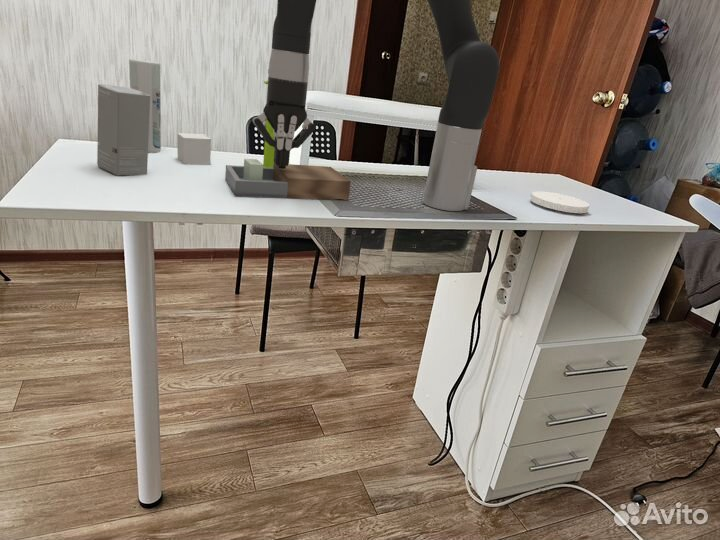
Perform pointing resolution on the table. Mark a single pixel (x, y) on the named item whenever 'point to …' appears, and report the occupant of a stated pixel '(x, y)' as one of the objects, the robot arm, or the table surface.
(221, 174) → the table surface
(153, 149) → the spray can
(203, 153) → the white cube
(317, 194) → the brown flat square block
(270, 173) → the box
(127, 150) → the skincare box
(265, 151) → the soap dispenser
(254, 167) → the tile
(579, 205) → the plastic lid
